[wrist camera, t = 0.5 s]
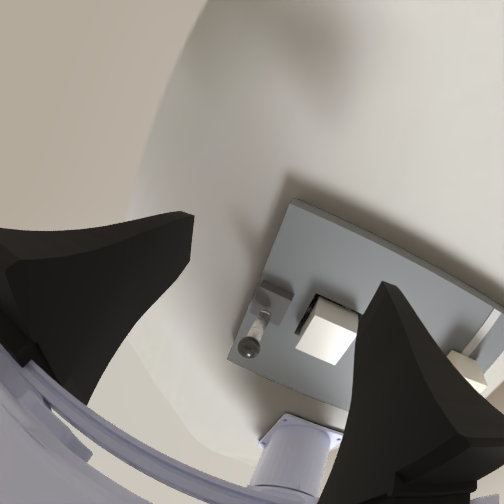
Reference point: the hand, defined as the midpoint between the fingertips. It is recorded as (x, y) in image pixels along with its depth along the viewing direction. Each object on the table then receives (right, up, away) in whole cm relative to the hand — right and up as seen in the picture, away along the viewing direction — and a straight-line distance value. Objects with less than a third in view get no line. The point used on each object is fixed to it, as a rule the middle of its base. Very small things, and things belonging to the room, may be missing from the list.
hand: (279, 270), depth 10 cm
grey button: (+5, -5, +10) cm, 12 cm away
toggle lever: (0, -3, +9) cm, 10 cm away
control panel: (+10, -7, +11) cm, 16 cm away
